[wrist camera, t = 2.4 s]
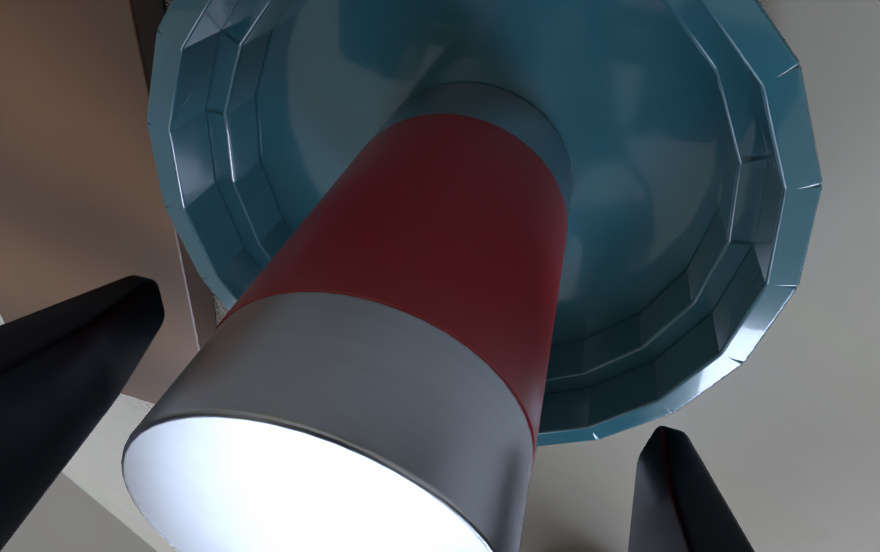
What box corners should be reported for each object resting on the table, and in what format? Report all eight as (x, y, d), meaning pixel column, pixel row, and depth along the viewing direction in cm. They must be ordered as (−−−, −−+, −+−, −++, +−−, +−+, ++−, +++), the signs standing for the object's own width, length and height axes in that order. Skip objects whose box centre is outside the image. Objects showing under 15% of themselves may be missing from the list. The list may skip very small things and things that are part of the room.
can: (544, 283, 16) (472, 683, 9) (369, 236, 17) (158, 573, 9) (602, 108, 13) (569, 510, 5) (381, 58, 14) (64, 354, 6)
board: (229, 401, 25) (214, 423, 24) (45, 344, 26) (23, 363, 25) (158, -34, 14) (125, -25, 13) (-156, -104, 15) (-208, -99, 14)
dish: (644, 414, 19) (646, 501, 16) (247, 301, 20) (196, 365, 18) (940, -86, 10) (1045, -58, 7) (189, -221, 11) (70, -234, 9)
